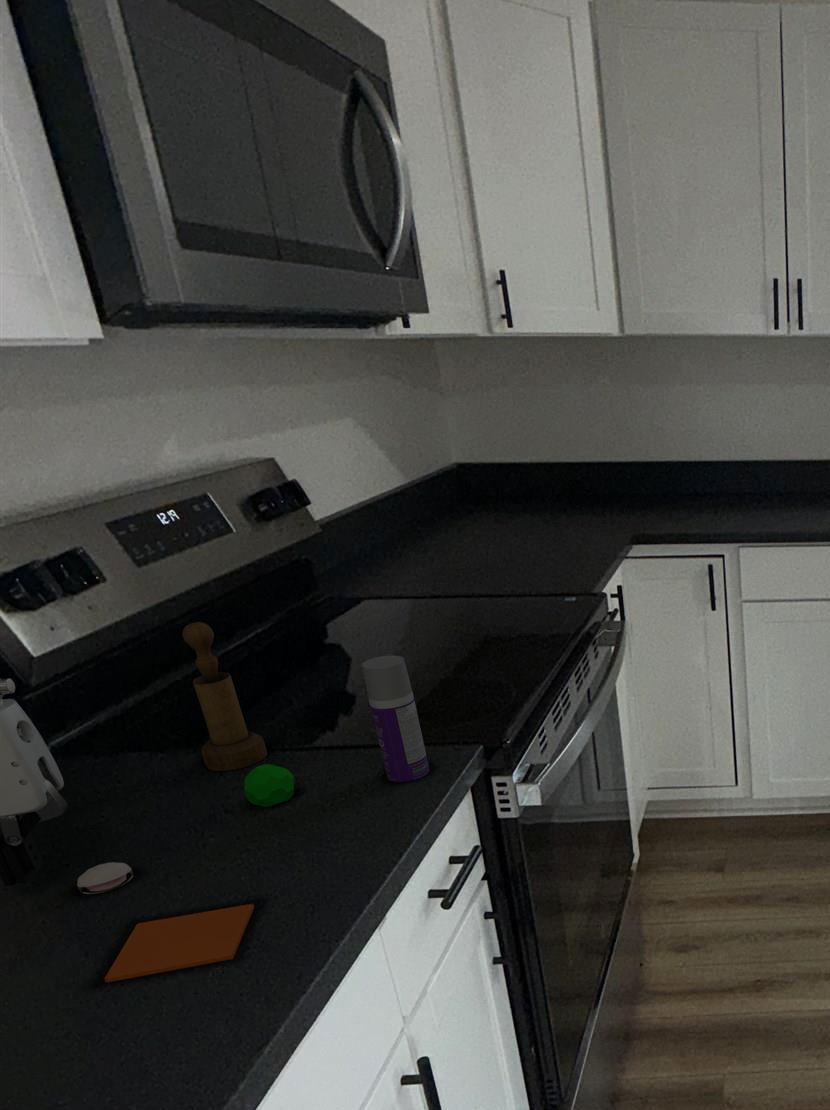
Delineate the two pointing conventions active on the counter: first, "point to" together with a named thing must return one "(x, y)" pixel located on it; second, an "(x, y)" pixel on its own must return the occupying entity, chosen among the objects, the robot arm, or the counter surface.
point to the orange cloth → (181, 942)
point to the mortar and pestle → (221, 709)
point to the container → (395, 718)
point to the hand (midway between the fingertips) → (23, 876)
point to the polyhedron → (269, 785)
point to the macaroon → (104, 877)
